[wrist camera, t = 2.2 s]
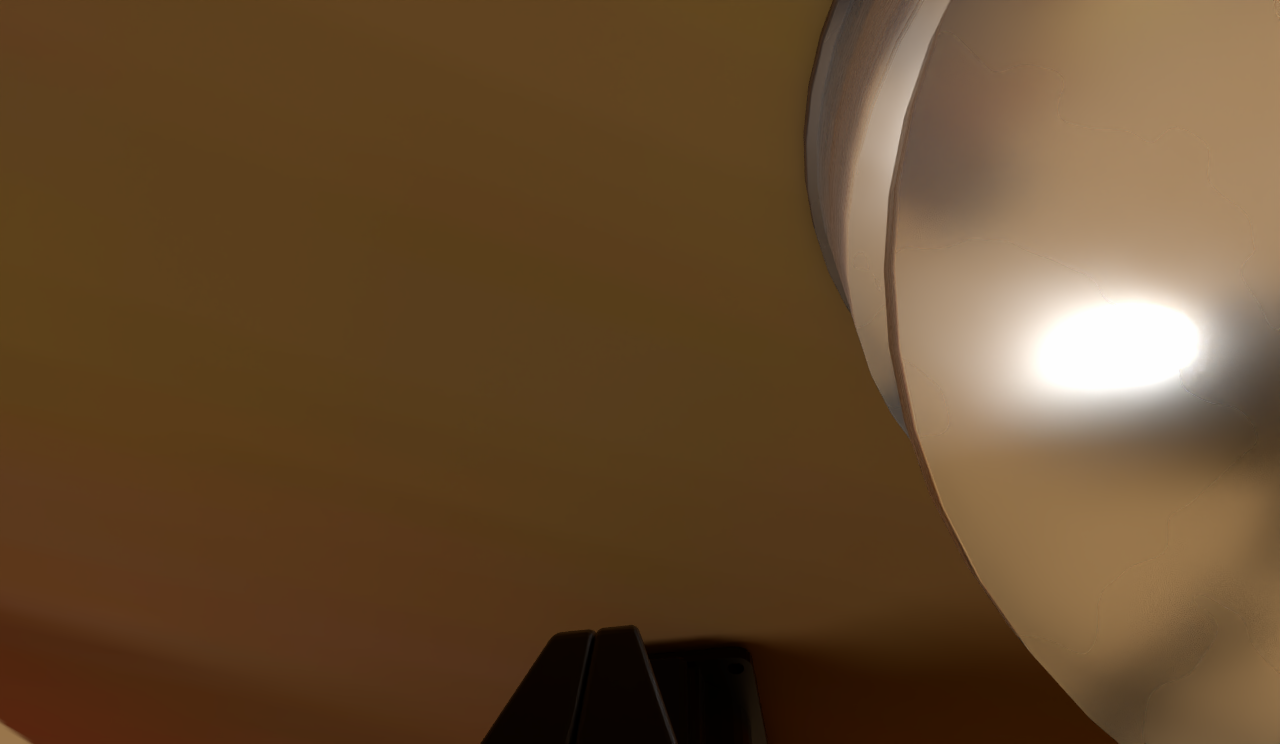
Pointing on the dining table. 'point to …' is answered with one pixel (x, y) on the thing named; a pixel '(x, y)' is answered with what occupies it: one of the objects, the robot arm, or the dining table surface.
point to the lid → (1104, 343)
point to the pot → (862, 152)
